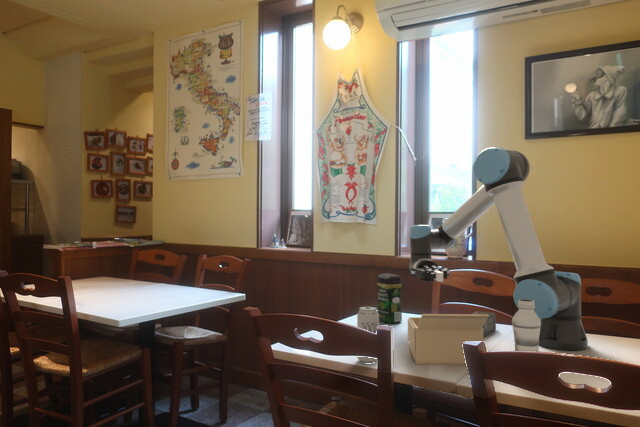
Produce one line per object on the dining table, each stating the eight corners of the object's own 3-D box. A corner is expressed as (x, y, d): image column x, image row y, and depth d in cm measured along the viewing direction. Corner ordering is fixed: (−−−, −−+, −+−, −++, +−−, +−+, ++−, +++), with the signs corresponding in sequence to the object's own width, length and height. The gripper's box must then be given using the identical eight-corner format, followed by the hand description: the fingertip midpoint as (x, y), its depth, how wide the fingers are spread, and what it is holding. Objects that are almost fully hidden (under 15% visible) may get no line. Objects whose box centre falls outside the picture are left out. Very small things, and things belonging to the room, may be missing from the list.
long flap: (488, 314, 124) (488, 316, 123) (480, 328, 131) (480, 330, 131) (422, 313, 124) (422, 315, 124) (417, 328, 132) (418, 329, 131)
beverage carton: (455, 337, 162) (455, 318, 162) (474, 327, 178) (474, 309, 178) (479, 341, 157) (479, 320, 158) (496, 330, 173) (496, 311, 173)
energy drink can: (359, 365, 131) (359, 310, 131) (355, 359, 137) (355, 306, 137) (381, 364, 132) (381, 310, 132) (376, 358, 138) (376, 306, 138)
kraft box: (470, 350, 145) (470, 317, 145) (484, 365, 131) (484, 328, 131) (407, 349, 146) (407, 317, 146) (414, 364, 132) (414, 328, 132)
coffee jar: (373, 320, 189) (373, 273, 189) (390, 318, 193) (390, 271, 193) (388, 324, 180) (388, 275, 181) (405, 322, 184) (405, 274, 184)
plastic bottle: (547, 386, 114) (546, 302, 115) (520, 387, 114) (519, 302, 114) (533, 377, 121) (532, 297, 121) (507, 378, 120) (507, 298, 121)
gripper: (445, 280, 166) (463, 289, 142) (407, 280, 166) (418, 290, 143) (444, 258, 166) (462, 264, 143) (406, 259, 167) (418, 264, 143)
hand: (440, 277), depth 143 cm, fingers closed
